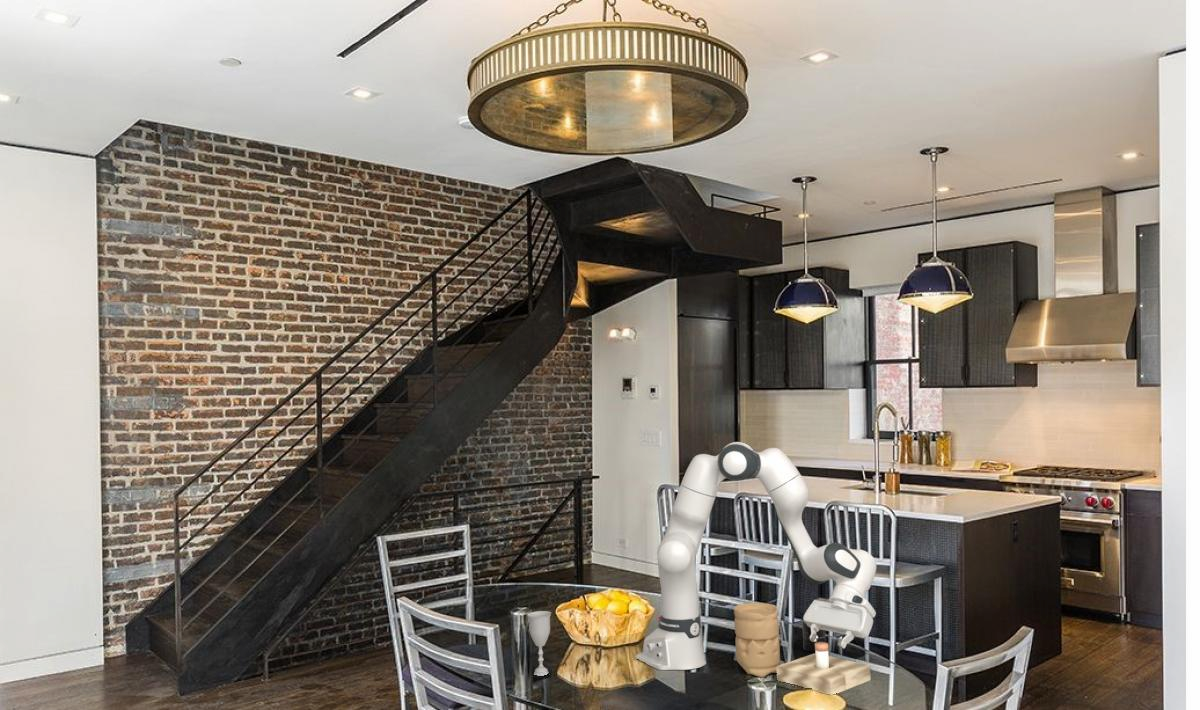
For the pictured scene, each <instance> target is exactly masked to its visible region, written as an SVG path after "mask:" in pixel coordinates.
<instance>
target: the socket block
mask: <svg viewBox="0 0 1200 710" xmlns="http://www.w3.org/2000/svg"><path fill="white" fill-rule="evenodd" d="M776 668H777V674H776V681H777V680H778V681H777V682H779V681H781V682H780V683H782V682H786V683H790V684H795V685H798V686H802V687H804V688H803V689H805V688H812V689H816V690H820V691H823V692H826V693H829V694H835V695H837V694H839V693H842V692H844V691H847V690H850V689H851V688H855V687H856V686H859V685H862V684H864V683H868V682H871V677H872V676H871V665H870V664H866V663H861V662H857V661H852V660H847V659H843V658H839V657H836V656H835V657H834V656H832V655H829V668H828V669H826V670H824V669H820V668H816V653H814V652H813V653H812V654H809V655H806V656H802V657H799V658H797V659H795V660H791V661H788V662H786V663H782V664H780V665H779V666H776ZM786 683H785V684H786ZM790 684H789V685H790ZM836 693H837V694H836Z"/></svg>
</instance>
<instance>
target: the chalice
mask: <svg viewBox="0 0 1200 710" xmlns="http://www.w3.org/2000/svg"><path fill="white" fill-rule="evenodd" d="M551 616H552V612H551V611H547V610H537V611H532V612H529V613H527V617H528V623H529V624H528V625H529V629H528V630H529V634H530V636H531V639H532V641H533V643H534V645H535V646H536V647H538V652H537V654H538V659H537V661H538V663H539V665H538V667H536V668H535V669H534V673H533V675H537V676H544V675H547V674H548V673H549V671H548V668H546V667H545V666H544V665H543V661H544V660H545V659H544V657H543V654H544V651H543V647H544V646H545V645H546V643H547V641H548V638H549V636H550V632H551Z"/></svg>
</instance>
